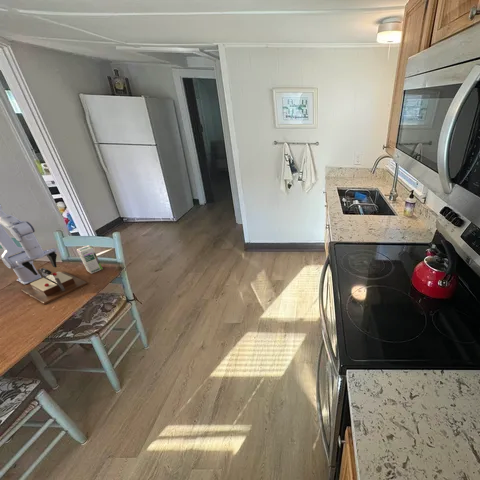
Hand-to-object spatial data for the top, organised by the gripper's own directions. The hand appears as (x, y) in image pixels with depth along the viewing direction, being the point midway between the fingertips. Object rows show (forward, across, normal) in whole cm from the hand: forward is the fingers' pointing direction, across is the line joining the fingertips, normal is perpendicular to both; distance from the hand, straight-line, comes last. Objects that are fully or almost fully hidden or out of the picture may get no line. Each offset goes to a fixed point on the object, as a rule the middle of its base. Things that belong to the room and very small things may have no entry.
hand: (45, 270), depth 133 cm
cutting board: (+10, 0, 0) cm, 10 cm away
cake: (+9, 0, 0) cm, 9 cm away
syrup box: (+11, +18, -1) cm, 21 cm away
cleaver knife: (+6, 0, 0) cm, 6 cm away
